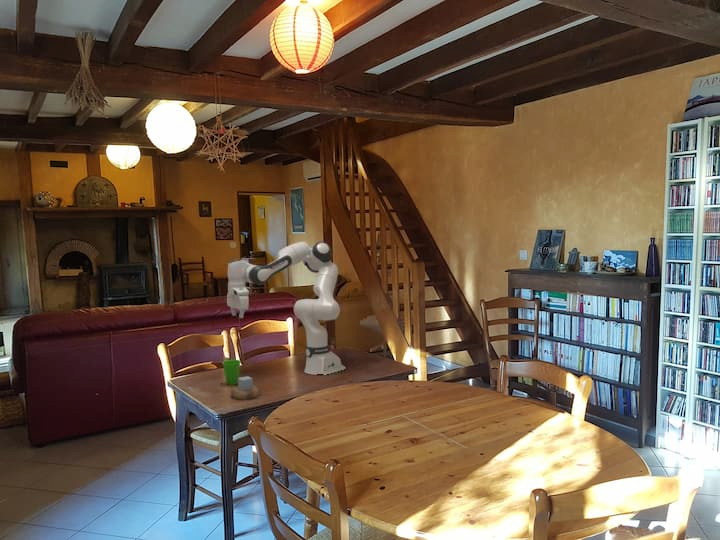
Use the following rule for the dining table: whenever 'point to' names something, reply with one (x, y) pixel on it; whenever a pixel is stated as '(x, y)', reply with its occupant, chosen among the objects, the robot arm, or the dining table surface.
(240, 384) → the cube
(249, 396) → the trivet
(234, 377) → the cup
